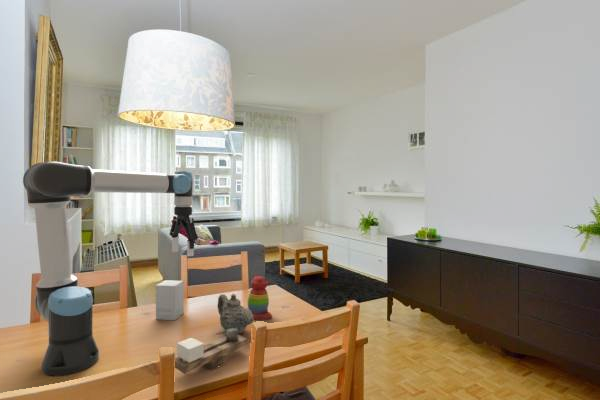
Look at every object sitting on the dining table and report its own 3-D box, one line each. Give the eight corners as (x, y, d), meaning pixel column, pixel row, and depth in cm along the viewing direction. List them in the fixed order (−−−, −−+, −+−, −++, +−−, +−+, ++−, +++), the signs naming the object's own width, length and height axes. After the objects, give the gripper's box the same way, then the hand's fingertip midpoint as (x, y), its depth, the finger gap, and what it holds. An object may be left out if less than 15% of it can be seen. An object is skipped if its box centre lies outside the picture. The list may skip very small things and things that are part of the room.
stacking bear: (273, 318, 149) (273, 278, 149) (250, 321, 146) (251, 280, 145) (266, 310, 159) (266, 272, 159) (245, 313, 156) (245, 274, 155)
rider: (189, 369, 100) (189, 349, 100) (177, 362, 104) (177, 342, 104) (203, 362, 104) (203, 343, 104) (191, 356, 108) (191, 337, 108)
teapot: (262, 334, 133) (262, 296, 133) (238, 344, 124) (239, 303, 124) (229, 319, 147) (229, 285, 147) (205, 327, 139) (206, 291, 138)
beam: (184, 383, 99) (184, 356, 99) (171, 375, 103) (171, 349, 103) (247, 353, 118) (247, 330, 118) (233, 346, 123) (233, 324, 122)
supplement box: (184, 313, 154) (184, 280, 154) (175, 320, 145) (175, 286, 145) (165, 312, 155) (165, 279, 155) (155, 319, 146) (155, 285, 146)
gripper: (206, 207, 145) (205, 256, 146) (177, 204, 162) (177, 249, 163) (189, 207, 140) (189, 259, 140) (162, 205, 157) (161, 250, 157)
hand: (182, 253), depth 152 cm, fingers open, 13 cm apart
